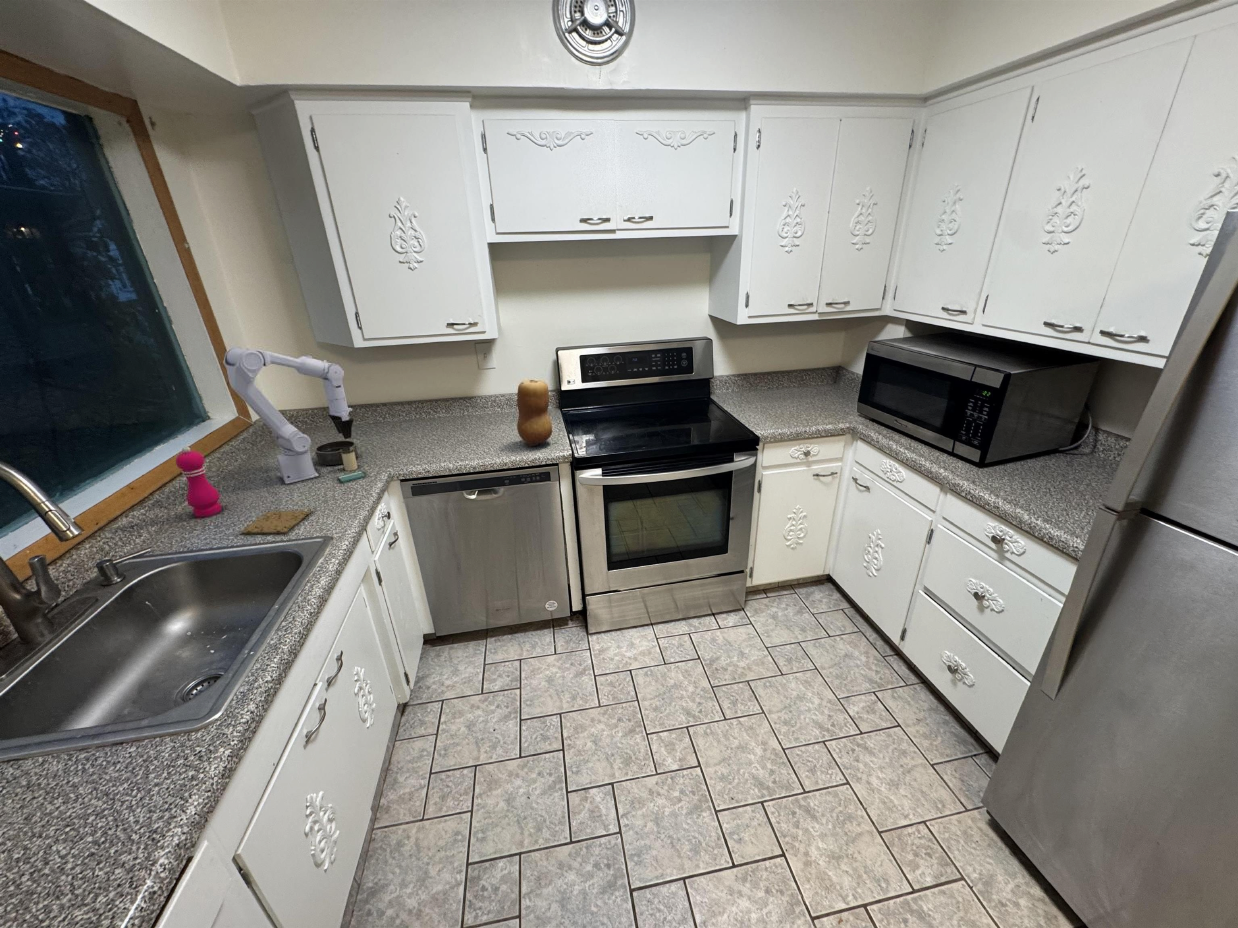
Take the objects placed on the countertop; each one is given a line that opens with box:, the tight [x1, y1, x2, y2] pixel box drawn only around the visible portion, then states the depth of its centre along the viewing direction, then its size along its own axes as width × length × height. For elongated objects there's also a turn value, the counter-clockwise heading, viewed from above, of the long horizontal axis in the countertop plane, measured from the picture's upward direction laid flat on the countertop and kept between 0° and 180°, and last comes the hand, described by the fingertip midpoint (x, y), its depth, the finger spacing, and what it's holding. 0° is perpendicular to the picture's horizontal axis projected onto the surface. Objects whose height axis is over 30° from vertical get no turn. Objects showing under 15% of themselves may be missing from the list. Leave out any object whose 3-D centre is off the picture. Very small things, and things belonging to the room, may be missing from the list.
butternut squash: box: [516, 378, 553, 447], centre depth 191 cm, size 14×13×25 cm
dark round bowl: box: [313, 439, 359, 466], centre depth 181 cm, size 13×13×5 cm
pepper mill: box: [175, 446, 223, 518], centre depth 141 cm, size 7×7×20 cm
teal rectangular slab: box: [337, 470, 366, 483], centre depth 167 cm, size 7×5×1 cm
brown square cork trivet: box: [241, 510, 312, 535], centre depth 138 cm, size 12×12×1 cm
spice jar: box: [340, 447, 359, 472], centre depth 173 cm, size 4×4×7 cm
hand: (344, 435), depth 178 cm, fingers open, 7 cm apart
